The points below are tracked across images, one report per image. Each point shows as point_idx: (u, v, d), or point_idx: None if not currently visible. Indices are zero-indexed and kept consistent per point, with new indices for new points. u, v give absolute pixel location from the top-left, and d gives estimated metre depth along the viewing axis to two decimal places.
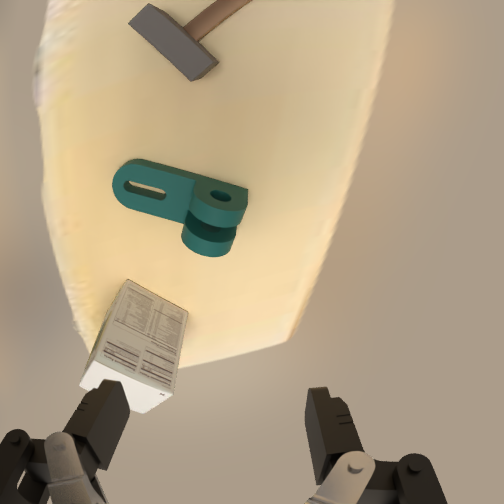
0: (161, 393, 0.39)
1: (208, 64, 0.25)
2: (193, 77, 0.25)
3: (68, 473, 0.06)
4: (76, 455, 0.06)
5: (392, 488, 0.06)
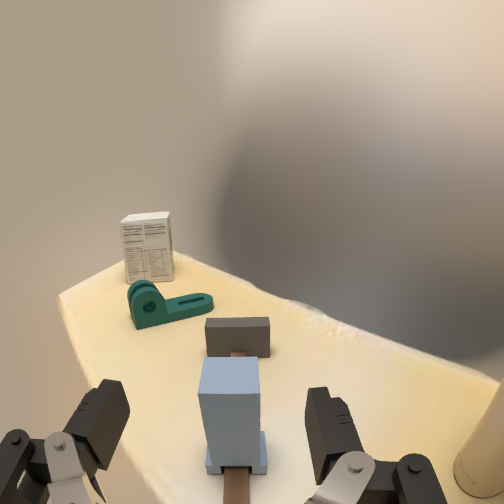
0: (126, 220, 0.73)
1: (205, 325, 0.45)
2: (207, 319, 0.47)
3: (68, 473, 0.06)
4: (76, 455, 0.06)
5: (392, 488, 0.06)
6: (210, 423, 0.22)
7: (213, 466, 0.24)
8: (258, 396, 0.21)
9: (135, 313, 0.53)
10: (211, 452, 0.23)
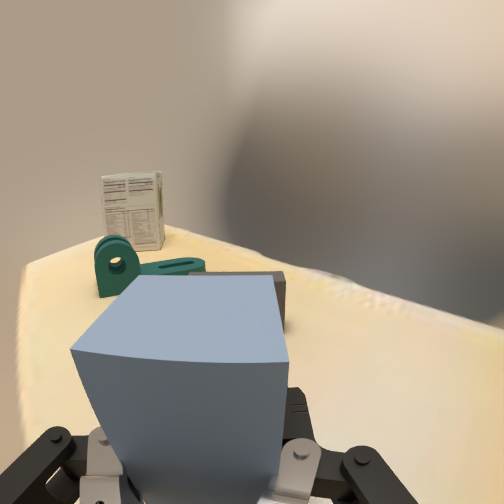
0: None
1: None
2: (190, 273, 0.31)
3: (106, 469, 0.06)
4: None
5: (338, 479, 0.07)
6: (130, 453, 0.07)
7: None
8: (281, 375, 0.06)
9: (98, 274, 0.38)
10: None
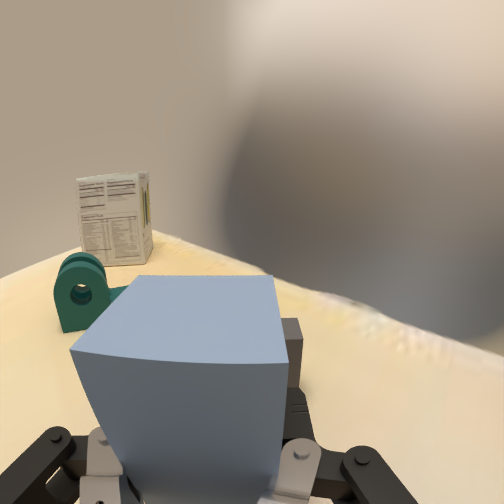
0: None
1: None
2: None
3: (106, 469, 0.06)
4: None
5: (338, 478, 0.07)
6: (130, 454, 0.06)
7: None
8: (281, 376, 0.06)
9: (58, 305, 0.28)
10: None
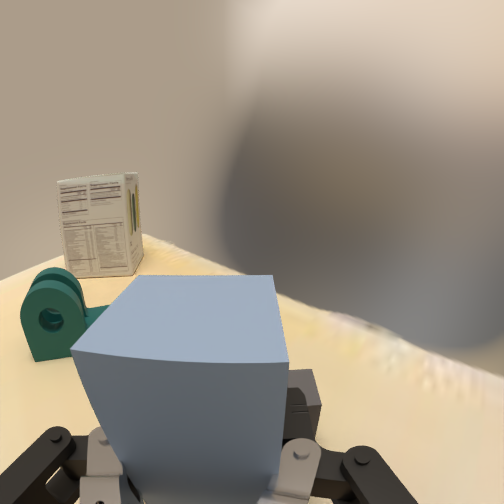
0: None
1: None
2: None
3: (106, 469, 0.06)
4: None
5: (338, 479, 0.07)
6: (131, 454, 0.07)
7: None
8: (281, 375, 0.06)
9: (27, 331, 0.22)
10: None
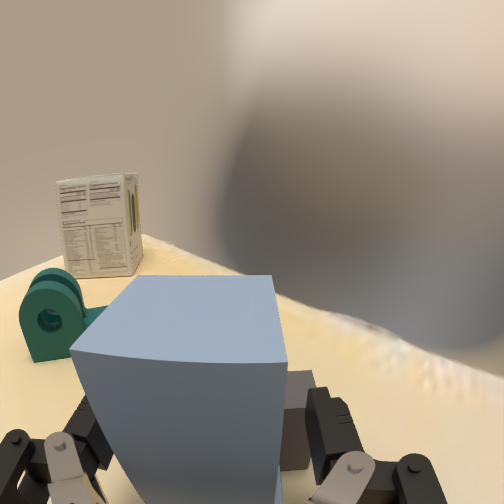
0: None
1: None
2: None
3: (68, 473, 0.06)
4: (76, 455, 0.06)
5: (392, 488, 0.06)
6: (129, 454, 0.06)
7: None
8: (280, 376, 0.06)
9: (25, 332, 0.22)
10: None
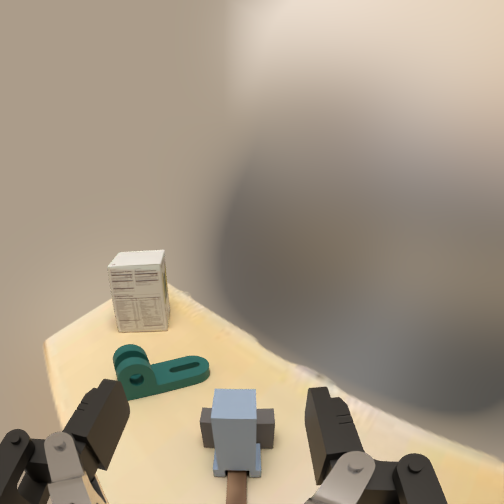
0: (114, 265, 0.64)
1: (201, 419, 0.35)
2: (202, 410, 0.37)
3: (68, 473, 0.06)
4: (76, 455, 0.06)
5: (392, 488, 0.06)
6: (218, 439, 0.29)
7: (219, 470, 0.30)
8: (255, 421, 0.28)
9: None
10: (218, 459, 0.30)
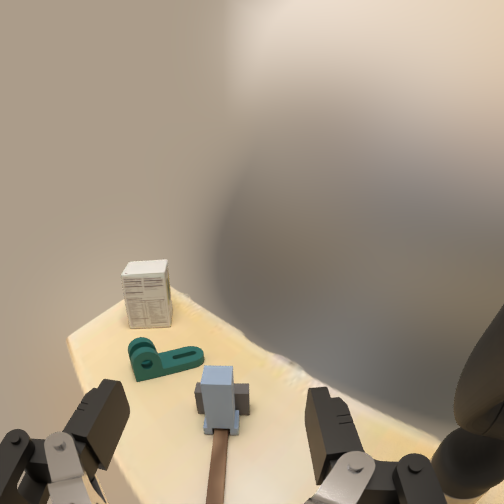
0: (126, 273, 0.79)
1: (195, 390, 0.50)
2: (197, 384, 0.52)
3: (68, 473, 0.06)
4: (76, 455, 0.06)
5: (392, 488, 0.06)
6: (206, 400, 0.44)
7: (207, 428, 0.46)
8: (230, 386, 0.43)
9: (135, 369, 0.59)
10: (206, 418, 0.45)
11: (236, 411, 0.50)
